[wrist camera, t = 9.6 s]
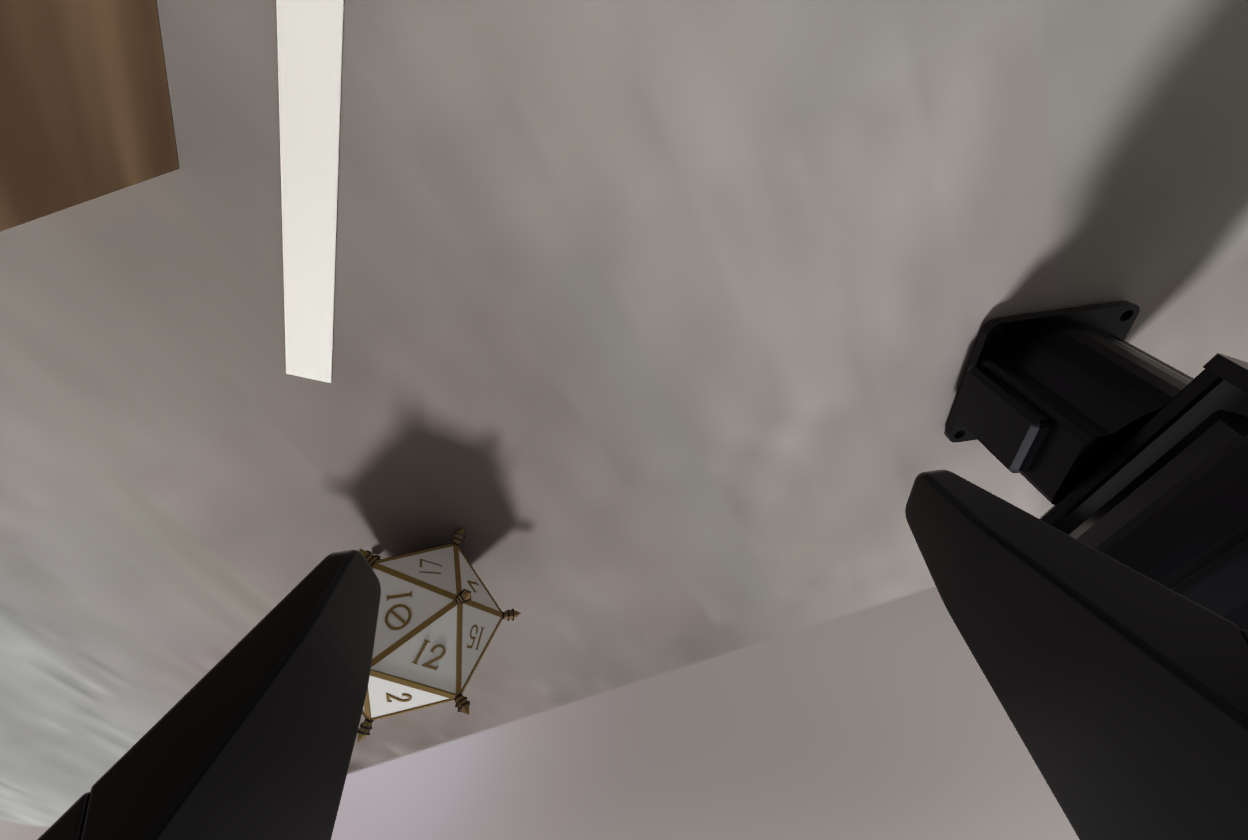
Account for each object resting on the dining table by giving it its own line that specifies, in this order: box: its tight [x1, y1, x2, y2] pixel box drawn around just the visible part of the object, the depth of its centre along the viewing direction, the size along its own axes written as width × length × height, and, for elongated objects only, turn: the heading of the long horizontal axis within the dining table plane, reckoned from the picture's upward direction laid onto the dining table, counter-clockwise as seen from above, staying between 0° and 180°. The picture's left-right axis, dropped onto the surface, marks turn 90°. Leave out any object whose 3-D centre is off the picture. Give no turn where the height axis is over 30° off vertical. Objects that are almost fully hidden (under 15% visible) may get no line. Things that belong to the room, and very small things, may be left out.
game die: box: [357, 528, 521, 742], centre depth 24 cm, size 9×8×10 cm
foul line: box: [276, 0, 344, 383], centre depth 15 cm, size 18×2×1 cm, turn 160°
